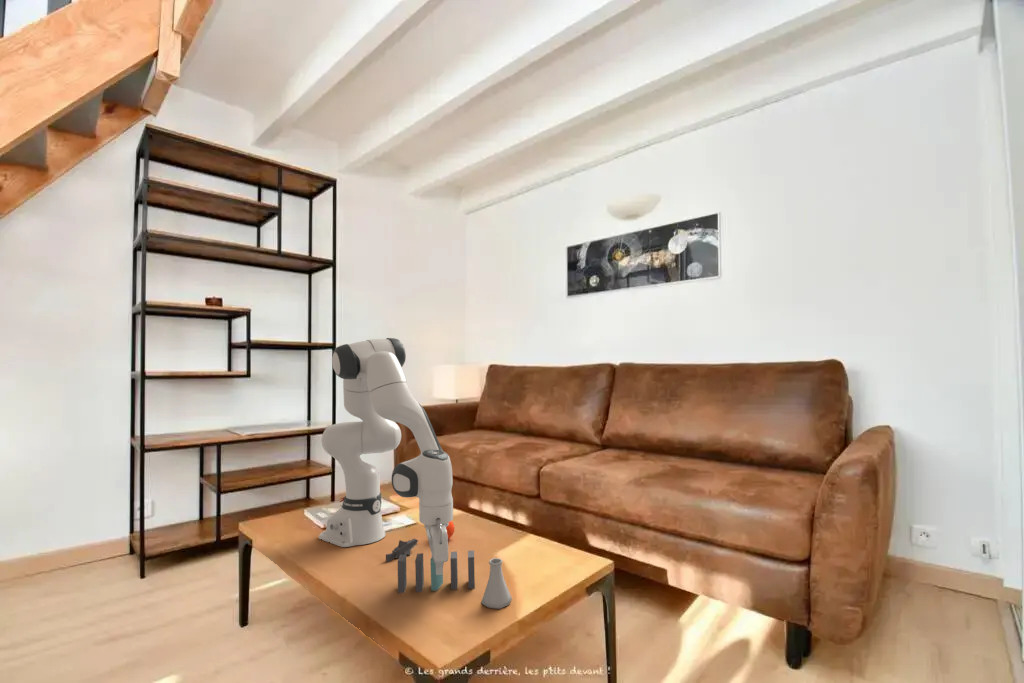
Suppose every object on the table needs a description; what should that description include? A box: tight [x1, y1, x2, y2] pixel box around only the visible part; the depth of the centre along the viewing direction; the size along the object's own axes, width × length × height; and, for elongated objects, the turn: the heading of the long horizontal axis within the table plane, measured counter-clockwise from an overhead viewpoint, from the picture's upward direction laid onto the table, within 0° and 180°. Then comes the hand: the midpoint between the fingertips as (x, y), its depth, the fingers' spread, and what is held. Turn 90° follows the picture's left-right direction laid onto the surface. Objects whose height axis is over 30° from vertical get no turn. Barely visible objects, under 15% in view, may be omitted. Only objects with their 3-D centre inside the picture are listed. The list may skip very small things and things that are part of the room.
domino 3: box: [429, 556, 444, 591], centre depth 127 cm, size 2×4×8 cm, turn 168°
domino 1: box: [397, 554, 408, 594], centre depth 126 cm, size 2×4×8 cm, turn 5°
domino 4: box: [450, 551, 459, 591], centre depth 127 cm, size 2×4×8 cm, turn 5°
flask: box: [480, 557, 513, 609], centre depth 119 cm, size 7×7×10 cm
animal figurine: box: [385, 538, 419, 563], centre depth 148 cm, size 12×4×5 cm, turn 140°
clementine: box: [446, 520, 456, 540], centre depth 160 cm, size 8×7×7 cm
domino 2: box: [414, 552, 425, 593], centre depth 127 cm, size 2×4×8 cm, turn 5°
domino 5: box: [467, 549, 476, 590], centre depth 128 cm, size 2×4×8 cm, turn 5°
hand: (437, 565), depth 127 cm, fingers open, 8 cm apart
